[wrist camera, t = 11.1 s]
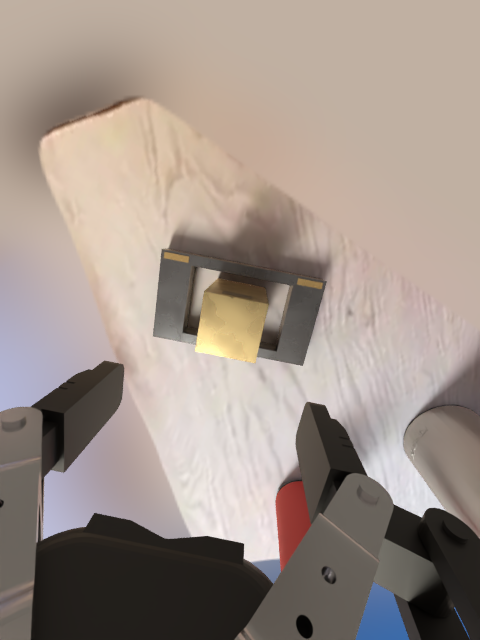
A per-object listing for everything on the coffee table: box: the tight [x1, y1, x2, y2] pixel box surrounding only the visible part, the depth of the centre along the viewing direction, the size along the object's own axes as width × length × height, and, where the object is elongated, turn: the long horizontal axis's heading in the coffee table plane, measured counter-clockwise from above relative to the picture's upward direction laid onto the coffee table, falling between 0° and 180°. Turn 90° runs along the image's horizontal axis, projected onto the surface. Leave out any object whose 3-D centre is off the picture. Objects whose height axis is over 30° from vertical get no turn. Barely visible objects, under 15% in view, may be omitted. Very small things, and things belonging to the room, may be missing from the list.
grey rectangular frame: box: [153, 249, 327, 366], centre depth 28 cm, size 16×9×2 cm, turn 79°
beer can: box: [275, 481, 312, 572], centre depth 30 cm, size 7×7×12 cm
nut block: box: [195, 278, 269, 363], centre depth 25 cm, size 5×5×8 cm
